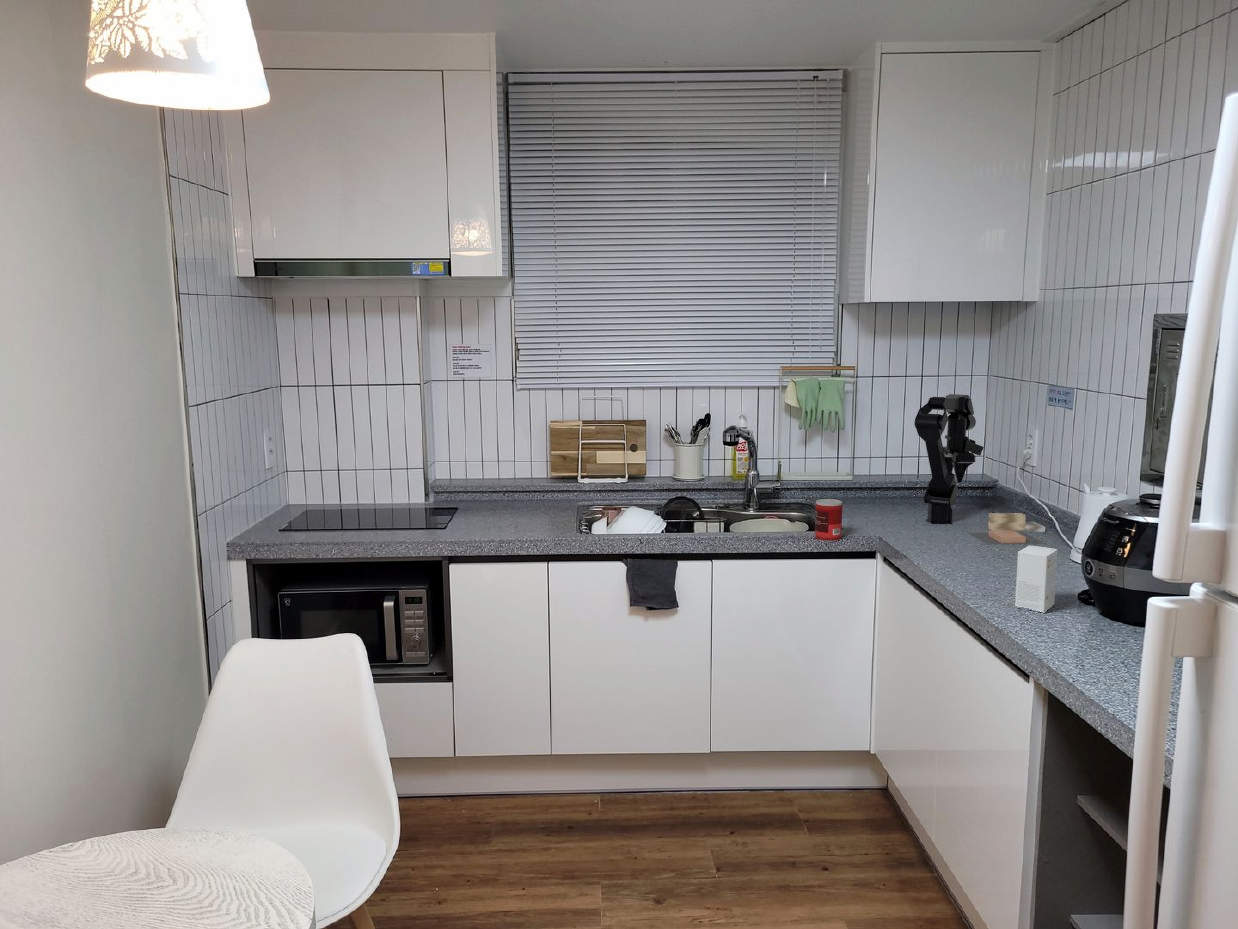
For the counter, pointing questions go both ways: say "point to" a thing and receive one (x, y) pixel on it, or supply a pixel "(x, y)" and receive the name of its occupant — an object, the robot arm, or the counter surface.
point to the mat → (991, 541)
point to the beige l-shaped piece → (1012, 522)
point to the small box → (1036, 578)
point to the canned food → (828, 519)
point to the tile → (1007, 536)
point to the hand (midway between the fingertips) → (954, 480)
